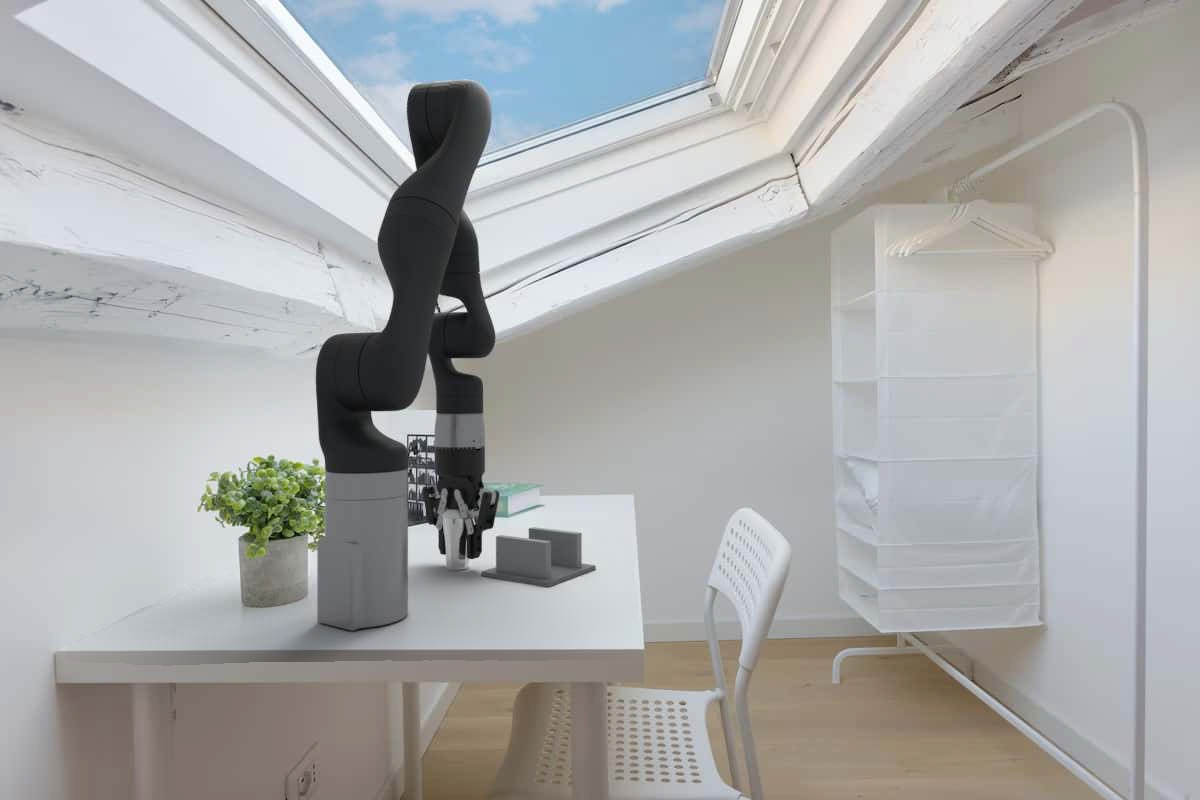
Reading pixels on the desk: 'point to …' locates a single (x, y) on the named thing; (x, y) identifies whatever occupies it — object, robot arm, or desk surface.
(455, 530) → the milkshake
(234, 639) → the desk surface
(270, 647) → the desk surface
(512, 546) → the cradle
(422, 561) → the desk surface
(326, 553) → the robot arm
